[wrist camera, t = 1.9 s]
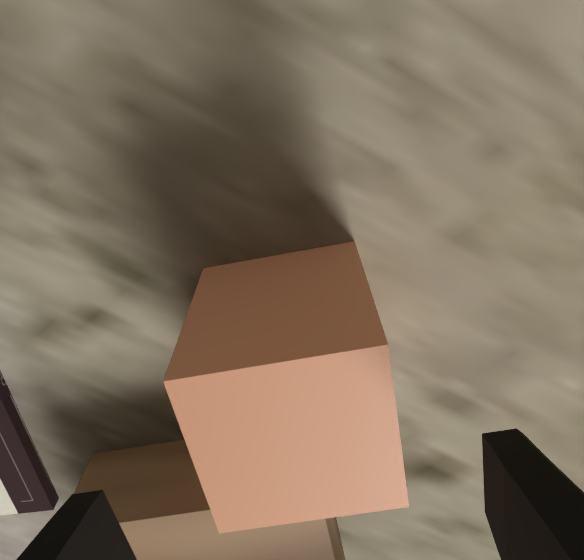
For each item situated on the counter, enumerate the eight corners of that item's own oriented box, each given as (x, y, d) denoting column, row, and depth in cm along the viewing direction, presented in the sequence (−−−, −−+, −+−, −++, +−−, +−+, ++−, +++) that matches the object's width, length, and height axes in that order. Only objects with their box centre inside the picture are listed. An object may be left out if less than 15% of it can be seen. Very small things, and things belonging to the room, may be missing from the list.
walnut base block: (346, 561, 21) (356, 652, 18) (161, 585, 22) (140, 678, 19) (313, 412, 18) (319, 493, 15) (95, 446, 19) (56, 532, 15)
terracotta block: (372, 366, 17) (408, 506, 12) (238, 388, 17) (219, 533, 12) (354, 240, 15) (388, 344, 10) (203, 267, 15) (162, 381, 10)
